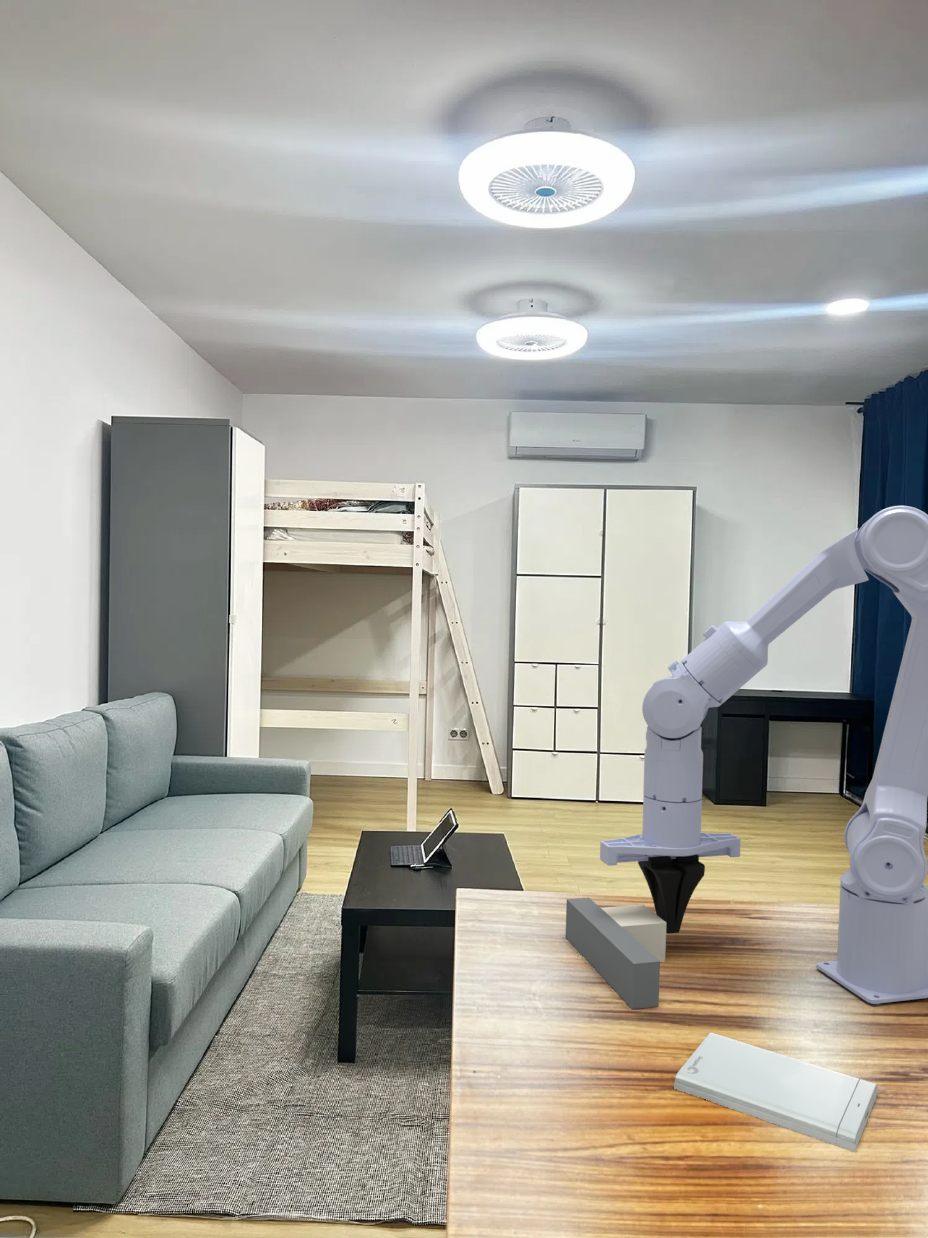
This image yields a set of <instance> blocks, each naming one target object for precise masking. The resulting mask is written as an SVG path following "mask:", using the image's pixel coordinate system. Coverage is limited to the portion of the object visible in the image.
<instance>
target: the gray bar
mask: <svg viewBox="0 0 928 1238" xmlns="http://www.w3.org/2000/svg"><path fill="white" fill-rule="evenodd" d="M601 908H602V907H600V906H599V905H598V904H597V903H596V902H595V901H593V900H592V898H590V897H578V898H566V910H565V913H566V914H565V939H567V940H568V941H569V942H570V944H571V945H573V947H574V948H575V949H576V950H577V951H578V952H579V954H581V956H582V957H583V958H584V959H585V960H586V961H587V962H588V963H589V964H590V965H591V967H592V968H594V970H596V972H597V973H598V974H599V975H600V976H601V978H603V979H604V980H605V982H606V983H607V984H608V985H609V986H610V987H612V989H613V990H614V991H615V992H616V994H617V995H619V997H620V998H621V999H622V1000H623V1001H624V1002H625V1003H626V1004H627V1005H628V1006H629V1007H630V1008H631V1010H635V1009H636V1010H637V1009H646V1008H655V1007H656V1008H657V1007H659V1005H660V1004H659V1002H660V1001H659V1000H660V999H659V998H660V977H661V975H660V974H661V973H660V972H661V971H660V970H661V962H660V961H659V960H658V959H657V958H656V957H655V956H654V955H652V954H651V953H650V952H649V951H648V950H647V949H646V948H645V947H644V946H642V945H641V944H640V943H639V942H638V941H637V940H636V939H635V938H634V937H632V936H631V935H630V934H629V933H628V932H627V931H626V930H625V929H624V928H622V927H621V926H620V925H619V924H618V923H617V922H616V921H615V920H614V919H612V918H611V917H610V916H609V915H608V914H607V913H606V912H605V911H604V910H602V909H601Z"/></svg>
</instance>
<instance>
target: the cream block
mask: <svg viewBox="0 0 928 1238" xmlns="http://www.w3.org/2000/svg"><path fill="white" fill-rule="evenodd" d="M600 908H601V909H602V910H604V911H605V912H606V913H607V914H608V915H609V916H610V917H611V918H612V919H614V920H615V921H616V922H617V923H618V924H619V925H620V926H621V927H622V928H624V929H625V930H626V931H627V932H628V933H629V934H630V935H631V936H632V937H634V938H635V939H636V940H637V941H638V942H639V943H640V944H641V945H642V946H644V947H645V948H646V949H647V950H648V951H649V952H650V953H651V954H652V955H654V956H655V957H656V958H657V959H658V960H659V961H660V963H661V962H662V963H663V962H666V948H667V946H666V943H667V942H666V941H667V933H666V922H665V921H664V920H662V919H661V918H660V917H659V916H657V915H656V912H653V911H652V910H651V909H650V908H649V907H648V906H646V905H645V904H635V905H634V904H632V905H619V906H618V905H617V906H607V907H600Z"/></svg>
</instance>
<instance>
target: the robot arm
mask: <svg viewBox="0 0 928 1238" xmlns="http://www.w3.org/2000/svg"><path fill="white" fill-rule="evenodd" d="M866 572H867V573H868V574H870V575H871V576H873V578H875V579H877V580H878V581H879V582H881V583H883V584H884V585H886V586H887V587H889V588H890V589H891V590H892V592H893V594H894V595H895V597H896V598H897V599H898V601H899V603H901V604H902V605H903V607H904V608H905V609H906V611H907V612H908V613H909V615H910V616H911V623H910V627H909V631H908V633H907V638H906V642H905V645H904V649H903V653H902V654H903V655H902V659H901V662H900V666H899V671H898V675H897V677H896V683H895V685H894V686H895V687H894V689H893V694H892V697H891V698H892V699H891V702H890V706H889V709H888V710H889V711H888V715H887V719H886V722H885V726H884V730H883V734H882V739H881V743H880V746H879V750H878V755H877V759H876V762H875V765H874V766H875V767H874V771H873V774H872V779H871V781H870V783H869V784H868V787H867V789H866V792H865V794H864V797H863V801H862V804H861V805H860V808H859V809H858V810H857V811H856V812H855V814H853V816H852V817H851V818H850V819H849V821H848V822H847V824H846V826H845V830H844V844H845V848H846V849H847V852H848V853H849V855H848V856H849V868H848V870H846V872H844V873H843V874H842V875H841V876H840V879H839V881H840V885H839V904H838V905H839V908H838V909H839V910H838V931H837V932H838V933H837V936H838V937H837V958H836V960H829V961H819V962H816V966H815V967H816V969H818V970H819V971H821V972H822V973H824V974H825V975H826V976H828V977H829V978H831V979H832V980H834V981H836V982H837V983H839V984H840V985H841V986H843V987H844V988H846V989H848V990H849V991H850V992H852V993H853V994H855V995H856V996H858V997H859V998H861V999H862V1000H863V1001H865V1002H867V1003H869V1004H872V1005H877V1004H884V1003H893V1002H901V1001H902V1002H903V1001H911V1000H912V1001H914V1000H920V999H928V886H927V885H924V883H925V881H926V880H927V876H928V859H927V856H926V853H925V849H924V838H925V833H926V831H927V830H926V829H927V822H928V821H927V818H928V815H927V814H928V811H927V810H928V514H927V513H926V512H925V511H922V510H920V509H918V508H917V507H913V506H908V505H893V506H889V507H886V508H884V509H880V511H878V512H876V513H875V514H874V515H873V516H871V517H870V518H869V519H868V520H867V521H865V522H864V523H863V524H862V526H861V527H860V528H859V527H856V528H855V529H853V530H852V531H850V532H849V533H848V534H846V535H844V536H842V537H841V538H839V539H838V540H836V541H835V542H833V543H832V544H831V545H829V546H828V547H826V548H824V549H823V550H822V551H819V553H818V554H817V555H815V557H813V558H812V559H811V560H810V561H809V562H808V563H807V564H806V565H805V566H803V568H801V569H800V570H799V571H798V572H797V573H796V574H795V575H794V576H793V577H792V578H791V579H790V580H789V581H788V582H787V583H786V584H784V586H782V587H781V588H780V589H779V590H778V591H777V592H776V593H775V594H774V595H773V596H771V598H770V599H768V600H767V601H766V602H765V603H764V604H763V605H762V606H761V607H760V608H759V609H758V610H757V611H756V612H755V613H754V614H753V615H752V616H750V617H749V619H747V620H746V621H737V620H736V621H733V620H727V621H726V620H725V621H724V622H722V624H720V625H719V626H718V627H716V626H715V625H714V624H713V625H710V627H708V628H707V629H706V630H705V631H704V632H702V635H703V636H704V637H705V639H704V640H703V641H702V642H700V643H699V644H698V645H697V646H695V648H694V649H693V650H691V651H690V652H689V653H688V654H687V655H686V656H685V657H684V658H683V659H682V660H681V661H680V662H678V661H677V660H674V661H672V662H671V663H670V664H669V665H668V666H667V669H668V671H669V672H670V673H671V675H669V676H666V677H663V678H660V679H659V680H656V681H655V682H653V683H652V685H651V687H650V688H649V689H648V690H647V692H646V694H645V696H644V698H643V702H642V705H641V706H642V715H643V716H642V717H643V718H644V721H645V723H646V725H647V726H646V733H645V741H646V748H644V755H643V756H644V760H643V762H644V763H643V764H644V765H643V793H642V794H643V798H642V799H643V802H642V803H643V804H642V833H640V834H636V835H629V836H626V837H620V838H615V839H609V840H600V843H599V844H600V845H599V846H600V847H599V848H600V849H599V850H600V851H599V860H600V861H601V862H602V863H604V864H605V865H607V866H608V867H609V866H611V867H612V866H617V865H618V864H619V863H631V862H637V865H638V866H639V868H640V870H641V872H642V875H643V876H644V878H645V881H646V883H647V886H648V888H649V891H650V894H651V898H652V902H653V904H654V909H655V914H656V915H657V916H659V917H660V918H661V919H662V920H664V921H665V922H666V935H667V934H669V935H671V934H679V933H680V931H681V927H682V924H683V920H684V917H685V914H686V910H687V908H688V905H689V902H690V900H691V897H692V895H693V893H694V891H695V889H696V888H697V886H698V885H699V883H700V882H701V880H702V879H703V878H704V876H705V872H706V869H705V868H706V866H705V864H704V863H702V862H701V861H700V858H705V857H707V858H709V857H710V858H711V857H722V856H723V857H724V856H725V857H726V856H728V857H730V858H740V857H741V844H742V843H741V842H742V841H741V840H742V839H741V837H738V836H737V835H735V834H734V833H731V832H726V833H720V832H719V833H714V832H702V812H703V811H702V808H703V806H702V805H703V774H704V773H703V771H704V768H703V767H704V752H703V750H702V731H703V730H702V727H703V726H701V725H702V722H703V721H704V720H705V718H706V716H707V713H708V710H709V709H710V708H717V707H718V708H719V707H721V705H723V704H724V703H725V702H726V701H727V700H728V699H730V698H731V697H732V696H733V695H734V694H735V693H737V691H739V690H740V689H741V688H742V687H744V685H746V684H747V683H748V682H749V681H750V680H751V679H753V678H754V677H755V676H756V675H757V674H758V673H759V672H760V671H762V670H763V669H765V667H767V665H768V663H769V662H768V661H769V659H768V658H769V645H770V643H772V642H773V641H775V640H776V639H777V638H778V637H780V635H782V634H783V633H785V631H787V629H789V628H790V627H792V625H794V624H795V623H796V622H798V620H800V619H801V618H802V617H803V616H804V615H806V614H807V613H808V612H809V611H810V610H812V609H813V608H814V607H815V606H817V605H818V604H819V603H820V602H822V601H823V599H825V598H826V597H828V596H829V595H830V594H831V593H832V592H833V591H837V590H838V589H839V590H840V589H843V588H845V587H849V586H853V585H856V584H860V583H865V582H867V581H869V580H870V579H869V576H868V575H867V573H866Z"/></svg>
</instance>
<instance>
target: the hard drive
mask: <svg viewBox="0 0 928 1238" xmlns="http://www.w3.org/2000/svg"><path fill="white" fill-rule="evenodd" d="M673 1082H674V1084H673V1089H674V1090H676V1089H677V1091H679V1092H681V1093H684V1092H686V1094H687V1093H688V1095H690V1094H692V1095H691V1096H693V1095H694V1096H693V1097H696V1096H697V1097H696V1098H699V1097H702V1098H704V1099H706V1100H705V1101H707V1100H710V1101H711V1102H710V1101H709V1102H710V1103H713V1102H714V1103H713V1104H716V1103H717V1105H719V1106H722V1107H724V1108H727V1107H728V1109H730V1110H733V1109H734V1111H736V1112H739V1113H741V1114H745V1113H746V1114H745V1115H748V1116H750V1115H752V1116H751V1117H753V1118H756V1117H758V1118H757V1119H760V1120H762V1121H765V1122H768V1123H771V1124H774V1125H777V1126H779V1125H780V1126H779V1127H783V1128H785V1129H788V1130H790V1131H794V1132H797V1133H800V1134H803V1135H805V1136H808V1137H811V1138H813V1139H814V1138H815V1139H816V1140H819V1141H823V1142H826V1143H828V1144H832V1145H835V1146H837V1147H840V1148H843V1149H845V1150H849V1151H851V1152H853V1153H854V1152H856V1151H857V1148H858V1145H859V1143H860V1140H861V1138H862V1135H863V1133H864V1130H865V1127H866V1125H867V1122H868V1120H869V1116H870V1114H871V1112H872V1109H873V1108H874V1104H875V1101H876V1099H877V1096H878V1092H879V1091H878V1088H879V1087H878V1084H877V1083H874V1082H871V1081H868V1080H865V1079H862V1078H859V1077H854V1076H852V1075H849V1074H845V1073H842V1072H839V1071H836V1070H832V1069H829V1068H827V1067H823V1066H820V1065H817V1064H813V1063H810V1062H808V1061H805V1060H802V1059H798V1058H795V1057H791V1056H788V1055H784V1054H781V1053H779V1052H775V1051H773V1050H772V1051H771V1050H769V1049H765V1048H762V1047H759V1046H757V1045H752V1044H749V1043H747V1042H744V1041H740V1040H736V1039H734V1038H730V1037H727V1036H724V1035H720V1034H717V1033H714V1032H709V1033H708V1035H707V1036H706V1037H705V1038H704V1039H703V1041H702V1042H701V1043H700V1045H698V1047H697V1048H696V1049H695V1050H694V1052H693V1053H692V1054H691V1055H690V1057H689V1058H688V1059H687V1061H686V1062H685V1063H684V1064H683V1065H682V1066H681V1068H679V1070H678V1072H677V1073H676V1075H675V1077H674V1081H673ZM702 1098H701V1099H702ZM704 1099H703V1100H704Z"/></svg>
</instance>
